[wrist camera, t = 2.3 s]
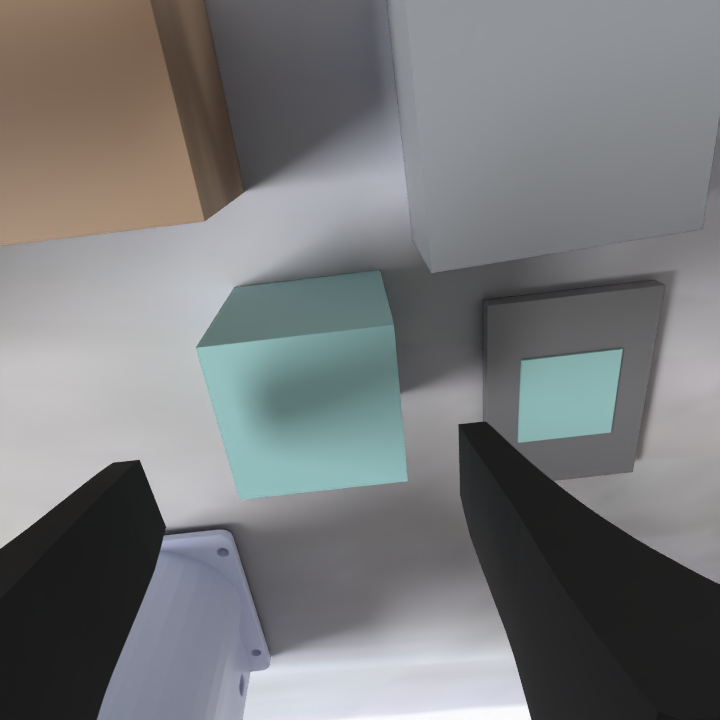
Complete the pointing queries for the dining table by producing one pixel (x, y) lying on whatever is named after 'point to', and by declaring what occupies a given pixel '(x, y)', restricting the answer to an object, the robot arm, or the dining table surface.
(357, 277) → the teal block
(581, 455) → the card
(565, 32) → the grey block
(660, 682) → the robot arm
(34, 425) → the dining table surface
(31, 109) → the walnut block
